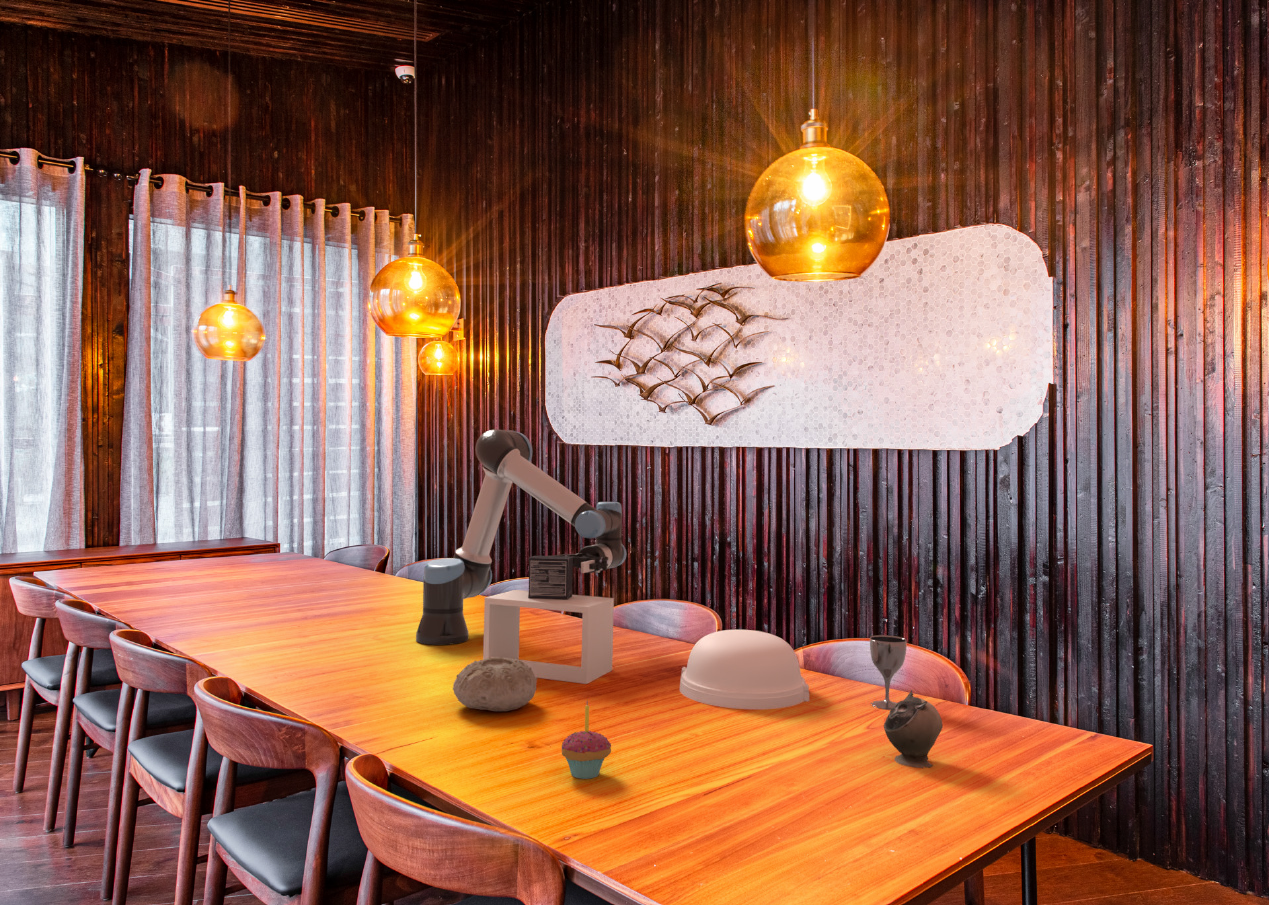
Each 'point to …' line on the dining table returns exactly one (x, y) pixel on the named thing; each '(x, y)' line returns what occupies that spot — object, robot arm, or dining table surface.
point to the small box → (550, 577)
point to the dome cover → (743, 671)
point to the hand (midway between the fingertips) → (558, 566)
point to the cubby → (595, 617)
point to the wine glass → (887, 661)
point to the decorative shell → (495, 684)
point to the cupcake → (585, 751)
